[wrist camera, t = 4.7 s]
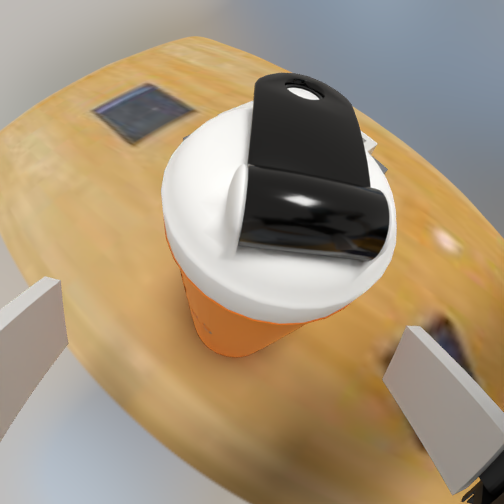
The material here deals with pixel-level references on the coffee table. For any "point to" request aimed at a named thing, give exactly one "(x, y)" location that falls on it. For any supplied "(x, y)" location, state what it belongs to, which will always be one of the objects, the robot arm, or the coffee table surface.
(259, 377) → the coffee table surface
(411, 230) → the coffee table surface
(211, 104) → the coffee table surface
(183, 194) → the shaker bottle
